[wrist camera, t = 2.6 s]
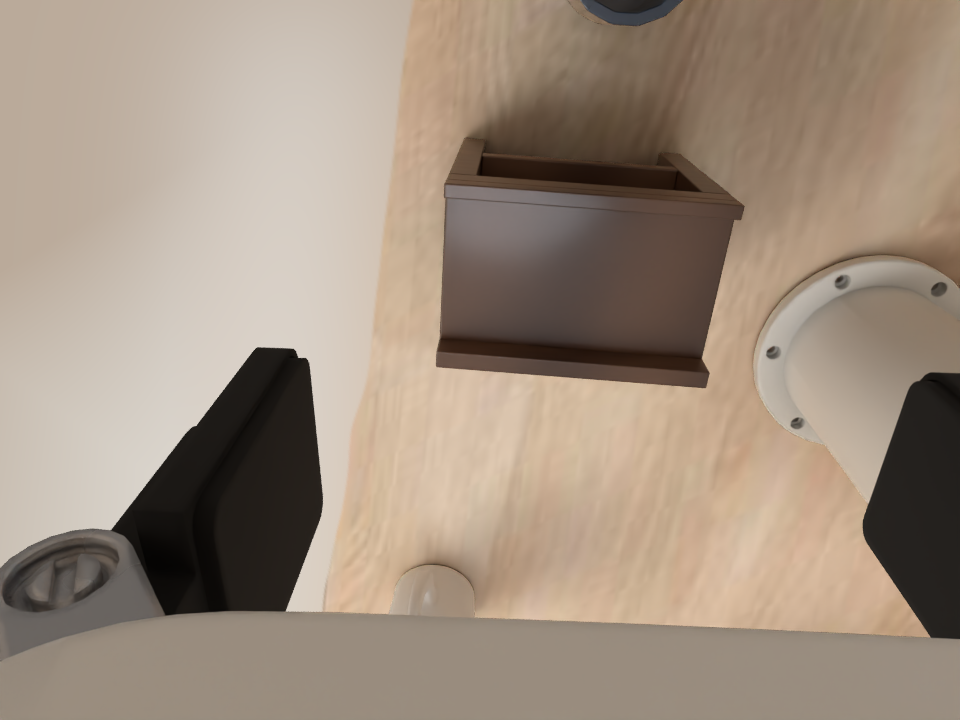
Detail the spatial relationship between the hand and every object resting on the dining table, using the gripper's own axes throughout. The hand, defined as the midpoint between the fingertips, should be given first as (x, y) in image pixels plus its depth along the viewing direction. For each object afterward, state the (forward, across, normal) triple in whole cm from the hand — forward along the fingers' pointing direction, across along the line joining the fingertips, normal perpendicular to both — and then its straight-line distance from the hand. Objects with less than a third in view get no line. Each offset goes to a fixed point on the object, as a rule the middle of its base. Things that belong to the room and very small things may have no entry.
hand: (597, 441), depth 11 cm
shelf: (+30, -2, +4) cm, 30 cm away
